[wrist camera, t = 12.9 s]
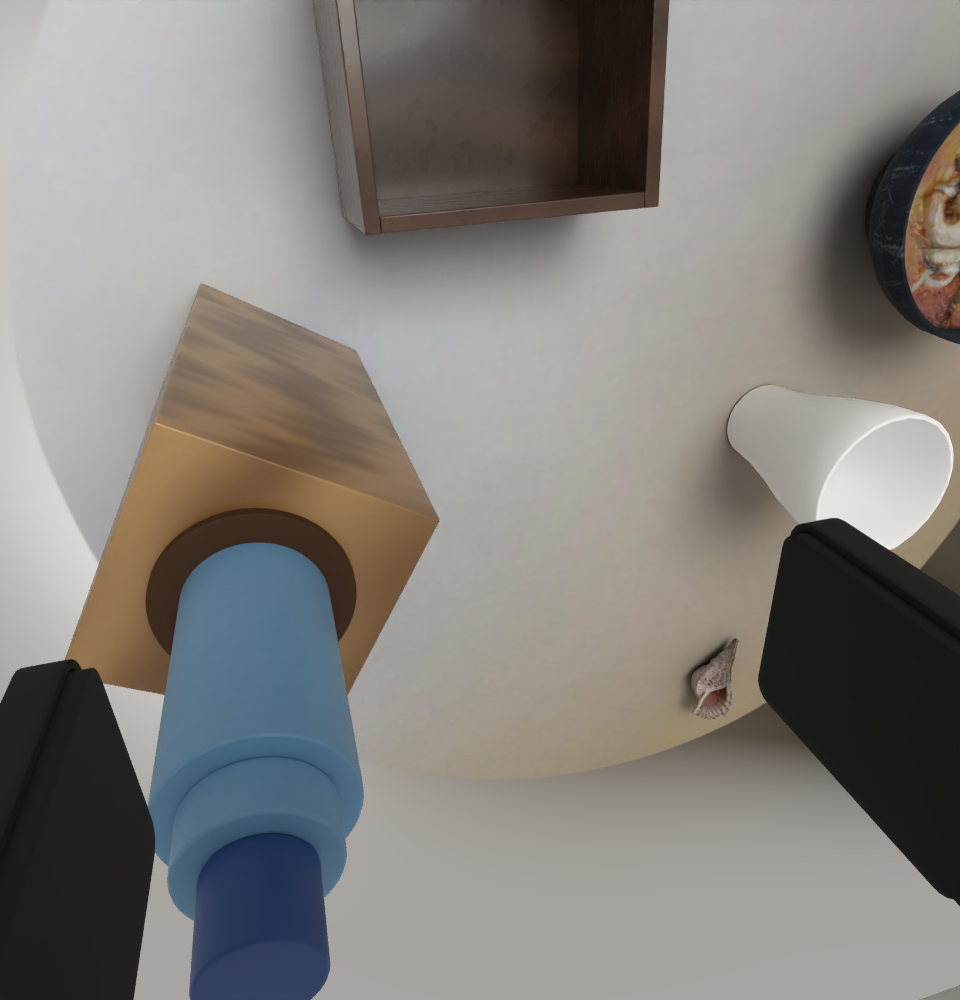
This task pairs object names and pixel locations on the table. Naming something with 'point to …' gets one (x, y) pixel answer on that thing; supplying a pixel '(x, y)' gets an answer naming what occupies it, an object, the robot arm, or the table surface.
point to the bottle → (255, 773)
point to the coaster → (240, 530)
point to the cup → (845, 459)
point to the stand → (257, 477)
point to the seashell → (714, 684)
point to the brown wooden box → (492, 108)
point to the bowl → (921, 224)
